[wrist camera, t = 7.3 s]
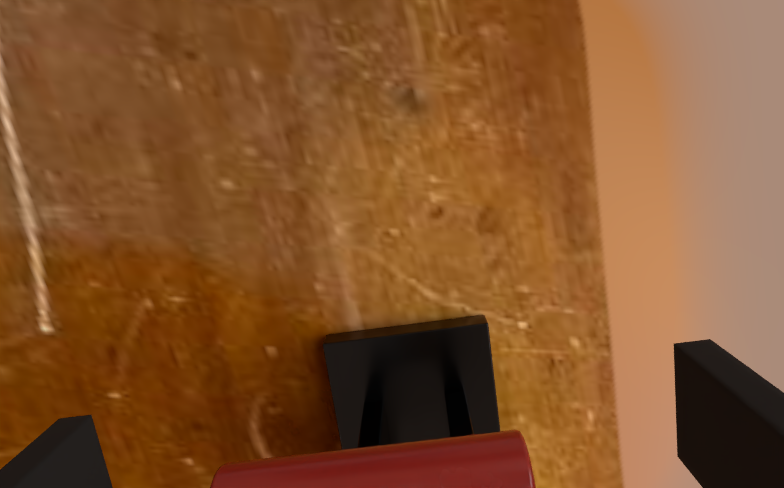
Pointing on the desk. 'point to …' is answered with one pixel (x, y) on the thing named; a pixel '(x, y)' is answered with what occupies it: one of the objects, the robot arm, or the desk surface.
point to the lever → (394, 466)
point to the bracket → (412, 382)
